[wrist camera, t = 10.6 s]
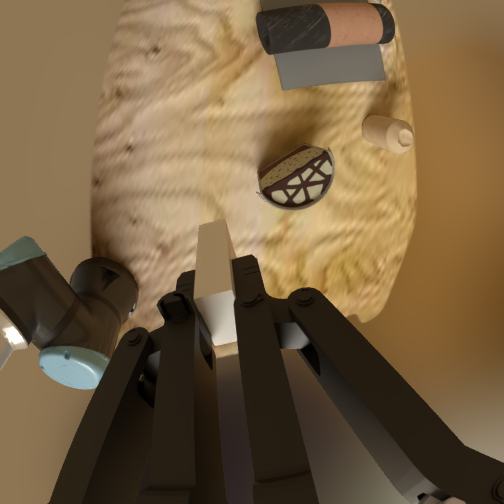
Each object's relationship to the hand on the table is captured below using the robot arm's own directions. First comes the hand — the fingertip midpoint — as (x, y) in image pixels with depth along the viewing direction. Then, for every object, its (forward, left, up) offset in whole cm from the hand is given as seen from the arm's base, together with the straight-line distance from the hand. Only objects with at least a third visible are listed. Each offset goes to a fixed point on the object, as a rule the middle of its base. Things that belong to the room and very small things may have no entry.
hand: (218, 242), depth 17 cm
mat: (+22, +16, -32) cm, 42 cm away
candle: (+28, -2, -33) cm, 43 cm away
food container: (+11, -7, -33) cm, 35 cm away
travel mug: (+11, +16, -28) cm, 34 cm away
